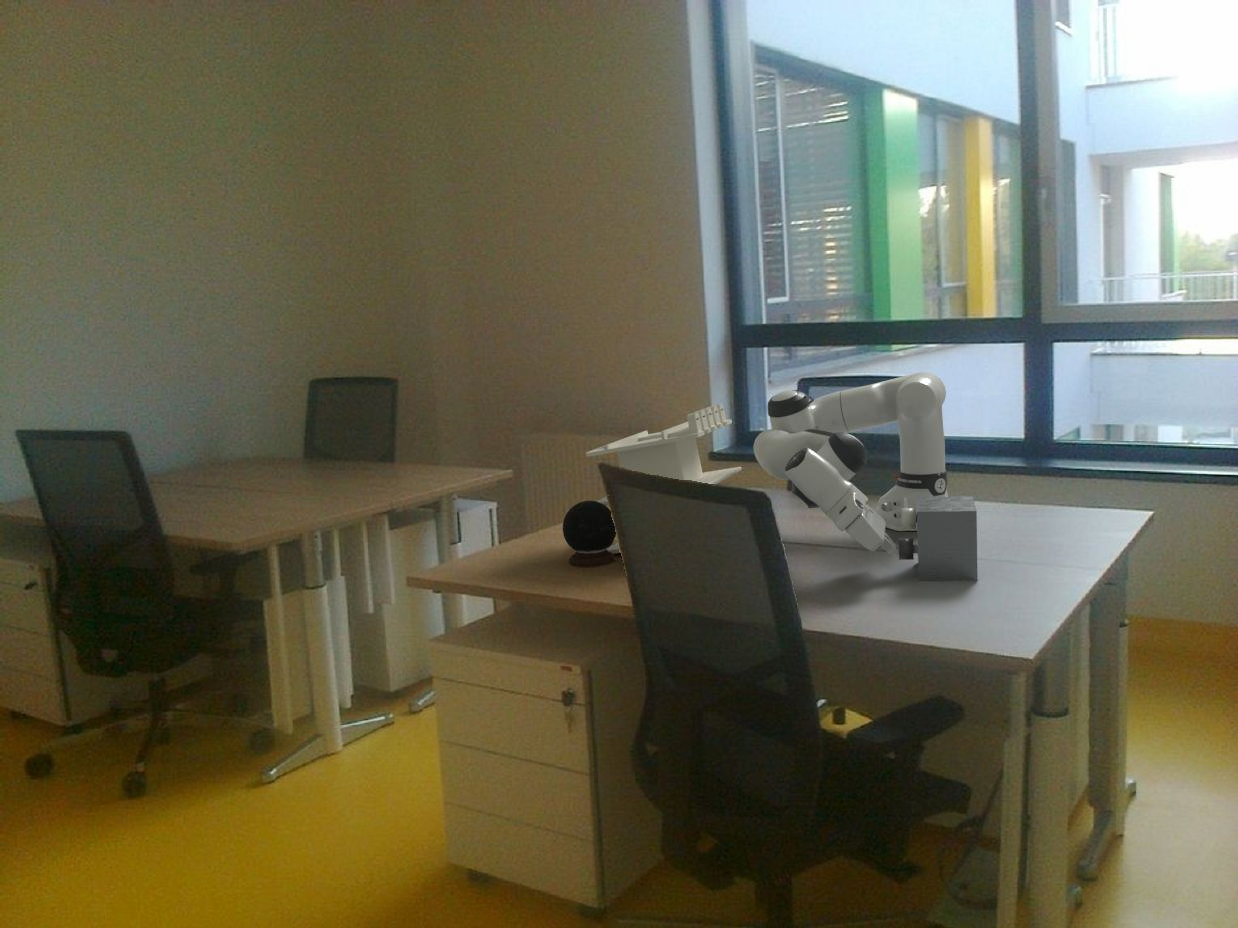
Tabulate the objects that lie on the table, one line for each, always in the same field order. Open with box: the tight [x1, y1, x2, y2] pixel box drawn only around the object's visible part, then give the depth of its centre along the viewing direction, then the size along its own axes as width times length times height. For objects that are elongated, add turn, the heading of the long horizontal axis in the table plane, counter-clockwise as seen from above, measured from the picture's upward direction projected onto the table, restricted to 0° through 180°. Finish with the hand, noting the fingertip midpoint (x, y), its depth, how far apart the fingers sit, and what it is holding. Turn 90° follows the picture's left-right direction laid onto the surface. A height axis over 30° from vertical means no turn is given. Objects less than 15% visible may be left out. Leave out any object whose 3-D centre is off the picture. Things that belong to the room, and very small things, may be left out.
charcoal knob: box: [898, 537, 918, 561], centre depth 249 cm, size 10×5×5 cm, turn 76°
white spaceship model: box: [585, 403, 743, 555], centre depth 292 cm, size 26×31×35 cm
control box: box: [916, 495, 978, 582], centre depth 251 cm, size 12×16×15 cm
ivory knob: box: [902, 508, 917, 529], centre depth 256 cm, size 10×5×5 cm, turn 76°
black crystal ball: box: [562, 500, 617, 568], centre depth 281 cm, size 13×13×15 cm
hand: (895, 552), depth 250 cm, fingers closed, pressing on charcoal knob
